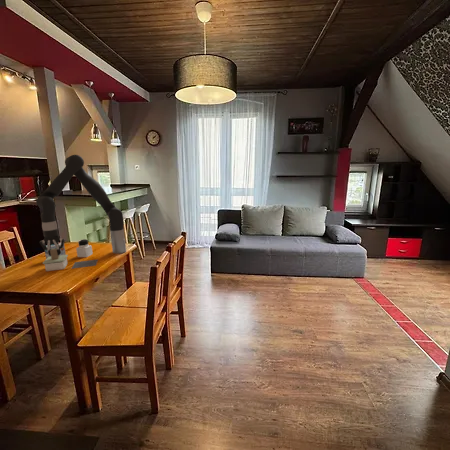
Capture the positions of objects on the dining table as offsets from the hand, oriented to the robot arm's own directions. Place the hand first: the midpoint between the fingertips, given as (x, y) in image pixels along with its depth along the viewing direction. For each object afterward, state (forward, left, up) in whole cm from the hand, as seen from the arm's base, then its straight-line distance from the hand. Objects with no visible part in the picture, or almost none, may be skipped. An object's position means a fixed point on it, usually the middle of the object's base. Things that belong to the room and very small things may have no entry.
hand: (55, 255), depth 159 cm
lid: (0, 0, -3) cm, 3 cm away
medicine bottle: (-13, -19, -9) cm, 25 cm away
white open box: (0, 0, -9) cm, 9 cm away
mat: (-16, 0, -9) cm, 18 cm away
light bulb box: (+5, -19, -9) cm, 22 cm away
